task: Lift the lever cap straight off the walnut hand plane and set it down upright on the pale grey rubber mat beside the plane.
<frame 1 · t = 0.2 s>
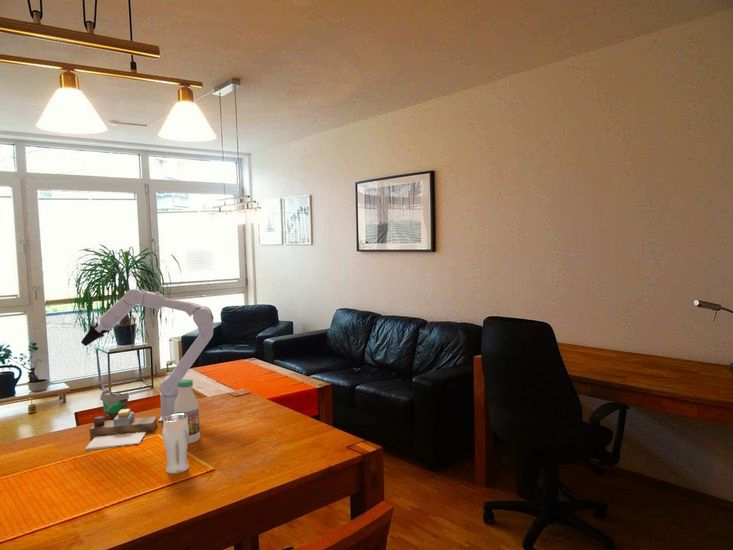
hand: (86, 341, 175), 31 cm above the table, tool tilted 45°, fingers open, 7 cm apart
beer glass: (177, 469, 139), on the table
lever cap: (124, 422, 170), point 3 cm above the table, touching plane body
rubber mat: (116, 441, 161), on the table
milk bottle: (187, 441, 160), on the table
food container: (112, 419, 183), on the table
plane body: (124, 430, 171), on the table
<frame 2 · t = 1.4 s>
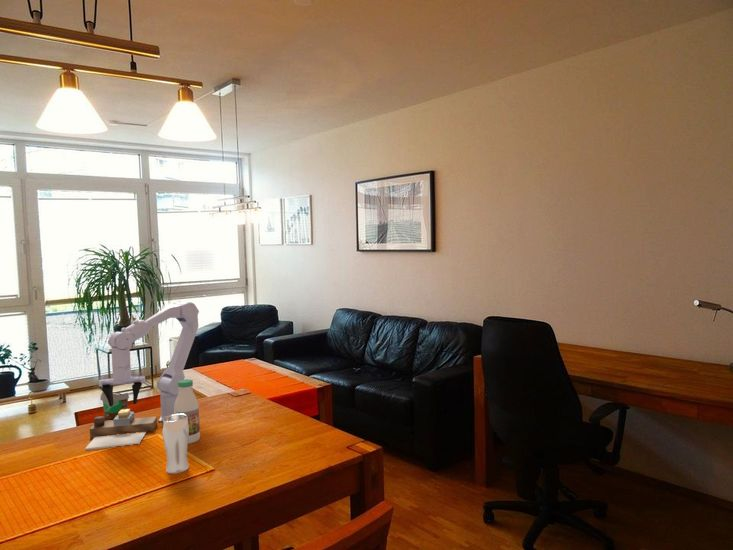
hand: (123, 404, 170), 9 cm above the table, tool pointing down, fingers open, 7 cm apart
nothing on the table moved.
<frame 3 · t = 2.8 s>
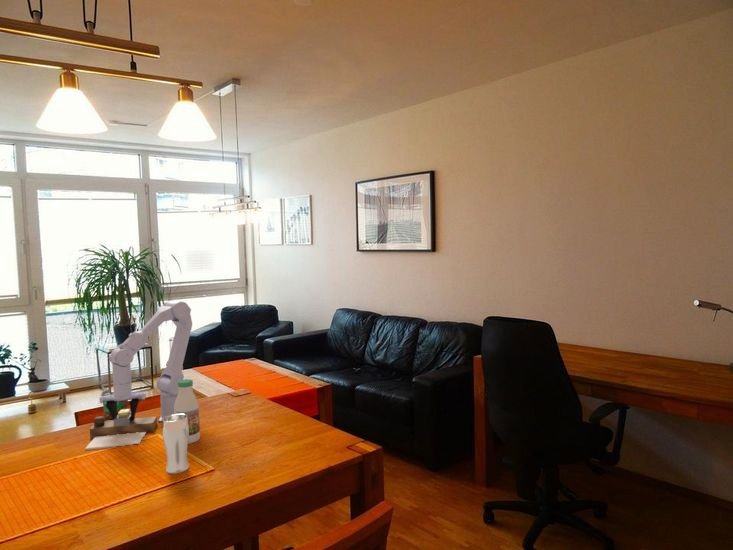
hand: (124, 420, 170), 4 cm above the table, tool pointing down, fingers closed on lever cap, 5 cm apart
lever cap: (124, 422, 170), point 3 cm above the table, touching gripper, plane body
everything else where it was.
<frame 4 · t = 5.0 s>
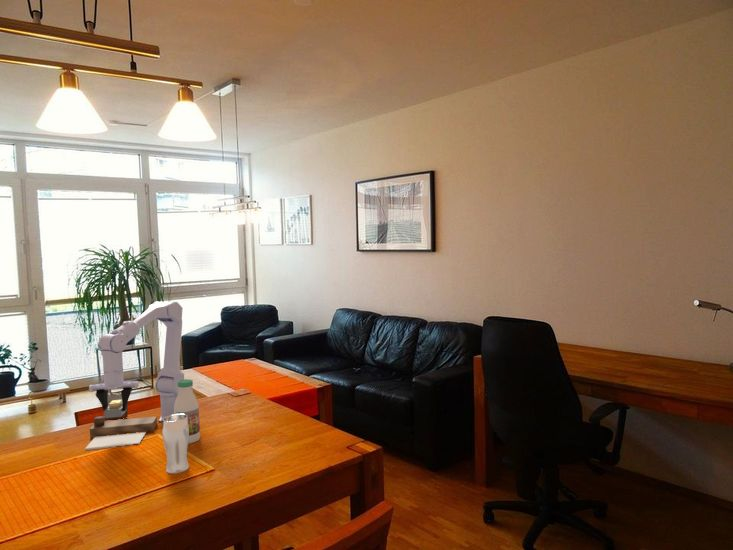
hand: (115, 411, 160), 10 cm above the table, tool pointing down, fingers closed on lever cap, 5 cm apart
lever cap: (115, 414, 161), point 9 cm above the table, touching gripper
everything else where it was.
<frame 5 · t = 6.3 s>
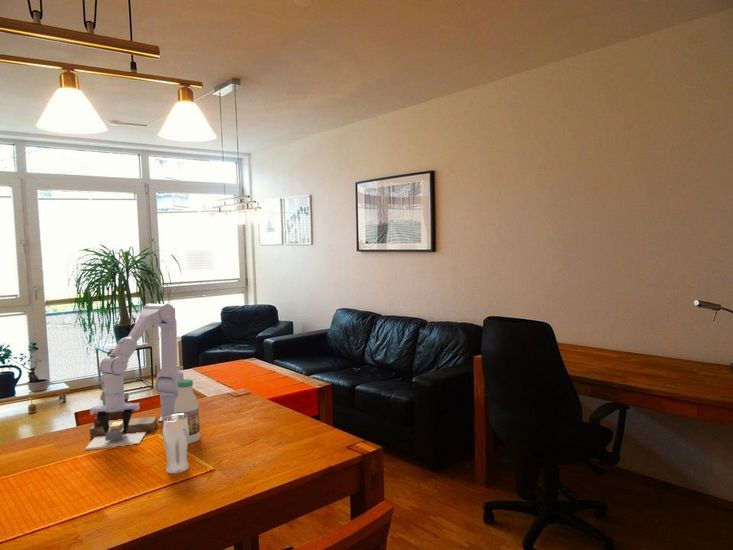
hand: (116, 433, 161), 3 cm above the table, tool pointing down, fingers closed on lever cap, 5 cm apart
lever cap: (116, 436, 161), point 2 cm above the table, touching gripper
everything else where it was.
when the fingers open (3 cm above the table, at t = 7.2 s): lever cap drops 1 cm, resting on rubber mat.
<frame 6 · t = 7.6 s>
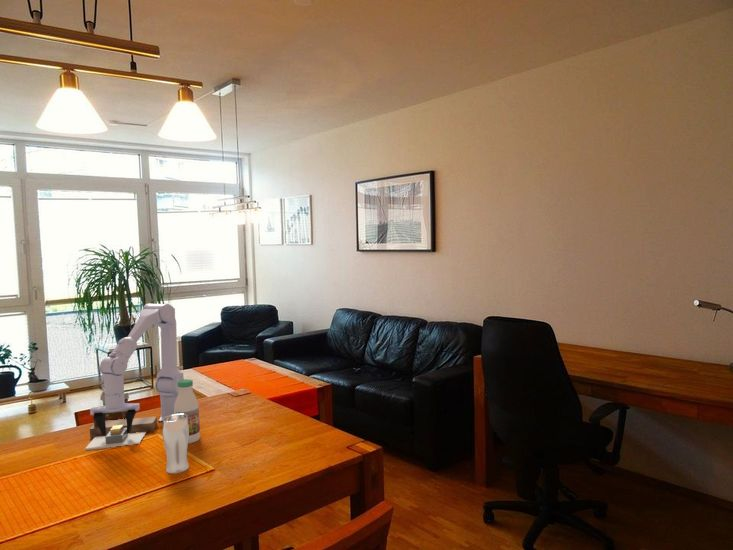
hand: (116, 433, 161), 3 cm above the table, tool pointing down, fingers open, 7 cm apart
lever cap: (117, 439, 161), point 1 cm above the table, touching rubber mat
everything else where it was.
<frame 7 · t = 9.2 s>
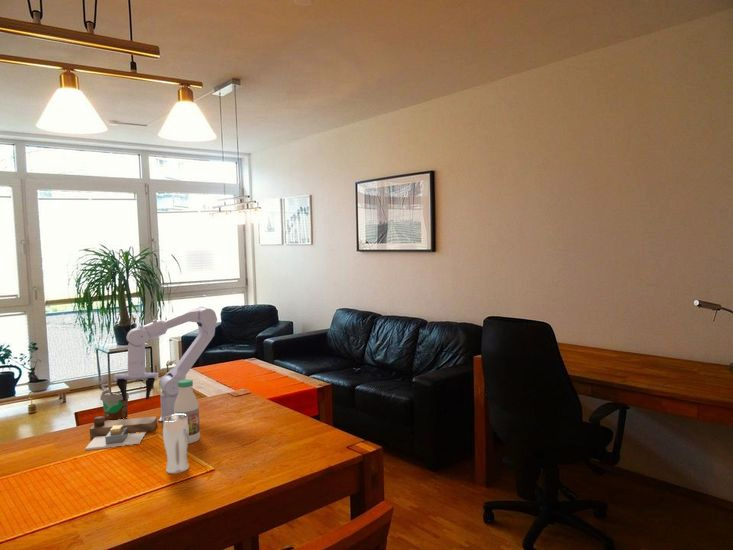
hand: (136, 399, 176), 9 cm above the table, tool pointing down, fingers open, 7 cm apart
nothing on the table moved.
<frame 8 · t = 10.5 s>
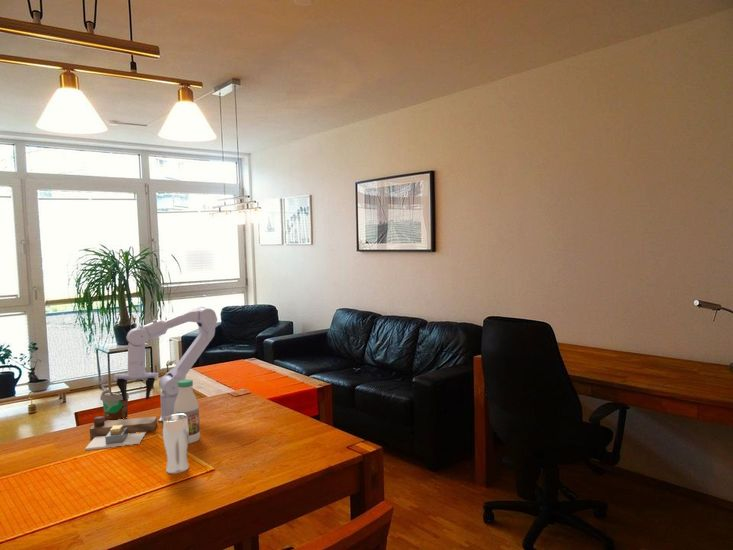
hand: (136, 399, 176), 9 cm above the table, tool pointing down, fingers open, 7 cm apart
nothing on the table moved.
at the end: lever cap inside the target area on the rubber mat (0.3 cm from its centre), point 0.6 cm above the rubber mat's base; lever cap tilted 0°; lever cap touching rubber mat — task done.
